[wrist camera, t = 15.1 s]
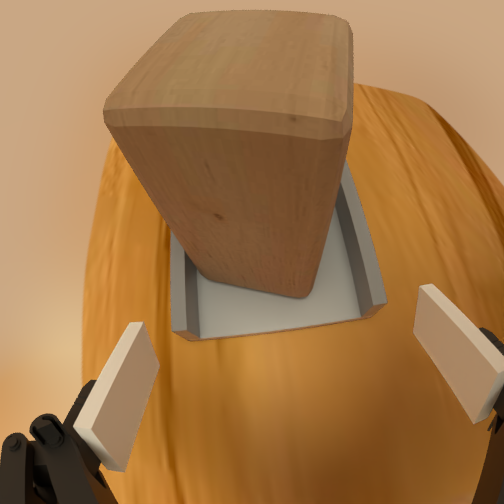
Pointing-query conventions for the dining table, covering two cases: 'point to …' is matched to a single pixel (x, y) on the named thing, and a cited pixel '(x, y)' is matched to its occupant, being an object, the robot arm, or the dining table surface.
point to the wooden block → (242, 139)
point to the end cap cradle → (281, 306)
